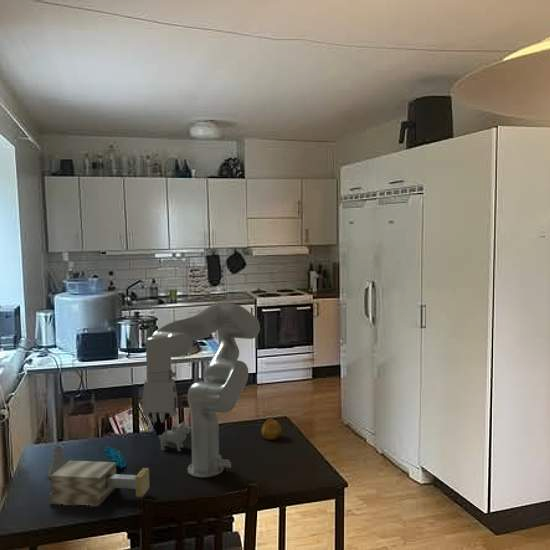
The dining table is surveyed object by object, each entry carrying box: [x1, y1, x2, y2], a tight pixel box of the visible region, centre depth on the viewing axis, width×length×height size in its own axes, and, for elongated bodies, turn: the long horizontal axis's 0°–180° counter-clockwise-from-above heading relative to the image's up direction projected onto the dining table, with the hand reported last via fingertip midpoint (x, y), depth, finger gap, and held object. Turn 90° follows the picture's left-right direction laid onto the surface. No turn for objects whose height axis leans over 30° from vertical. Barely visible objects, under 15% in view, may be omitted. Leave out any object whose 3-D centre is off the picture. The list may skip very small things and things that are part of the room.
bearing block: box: [49, 460, 117, 507], centre depth 172 cm, size 16×14×8 cm
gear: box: [103, 445, 127, 469], centre depth 194 cm, size 11×6×10 cm
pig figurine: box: [158, 421, 191, 452], centre depth 210 cm, size 5×13×11 cm, turn 83°
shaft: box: [106, 467, 150, 498], centre depth 171 cm, size 20×6×6 cm, turn 83°
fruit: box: [261, 418, 282, 440], centre depth 221 cm, size 8×8×8 cm
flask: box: [47, 445, 67, 480], centre depth 187 cm, size 7×7×10 cm
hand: (160, 433), depth 168 cm, fingers closed
